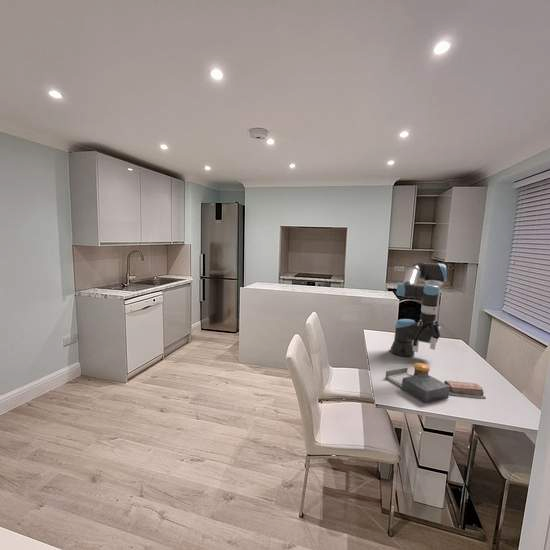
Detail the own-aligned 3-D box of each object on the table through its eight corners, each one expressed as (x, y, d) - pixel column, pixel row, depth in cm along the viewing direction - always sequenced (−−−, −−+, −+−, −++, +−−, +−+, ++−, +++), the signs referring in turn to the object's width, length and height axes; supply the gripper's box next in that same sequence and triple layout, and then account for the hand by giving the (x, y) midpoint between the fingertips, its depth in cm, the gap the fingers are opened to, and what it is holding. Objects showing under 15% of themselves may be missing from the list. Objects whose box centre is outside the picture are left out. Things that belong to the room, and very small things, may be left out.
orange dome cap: (410, 366, 169) (411, 363, 169) (420, 364, 172) (421, 362, 172) (422, 372, 162) (423, 369, 162) (432, 370, 165) (433, 367, 165)
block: (413, 375, 169) (414, 367, 168) (420, 374, 171) (421, 366, 170) (421, 379, 164) (422, 371, 164) (427, 378, 166) (428, 369, 166)
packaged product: (475, 380, 157) (487, 390, 147) (474, 389, 157) (485, 399, 147) (440, 377, 158) (448, 386, 149) (439, 386, 159) (447, 395, 149)
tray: (384, 378, 164) (385, 370, 163) (404, 374, 170) (405, 367, 169) (405, 390, 151) (406, 382, 150) (426, 386, 157) (427, 378, 156)
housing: (401, 388, 153) (402, 377, 152) (423, 384, 159) (424, 373, 158) (424, 403, 140) (426, 391, 139) (448, 397, 146) (449, 386, 146)
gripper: (417, 315, 155) (413, 355, 157) (450, 313, 165) (445, 350, 167) (406, 312, 161) (402, 349, 164) (437, 310, 172) (433, 345, 174)
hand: (423, 350), depth 166 cm, fingers open, 13 cm apart
